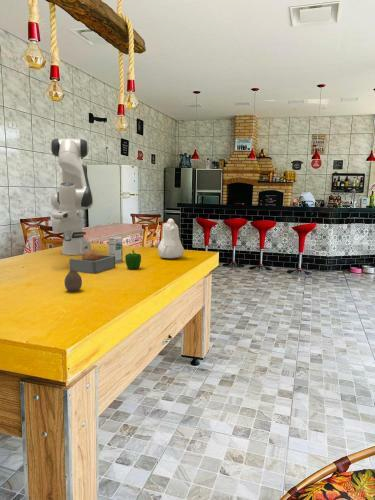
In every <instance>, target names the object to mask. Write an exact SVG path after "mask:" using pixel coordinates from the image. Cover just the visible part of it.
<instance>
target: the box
mask: <svg viewBox="0 0 375 500" xmlns="http://www.w3.org/2000/svg"><path fill="white" fill-rule="evenodd" d="M99 255H100V257H101V259H100V260H96V261H87V260H82V259H77V258H69V271H70V270H71V269H75V270H76V271H77V273H84V274H85V273H87V274H92V275H93V274H98V273H101V272H105V271H108V270H110V269H111V270H112V269H114V268H115V269H116V263H115V256H109V255H105V254H99Z"/></svg>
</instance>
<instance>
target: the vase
mask: <svg viewBox="0 0 375 500" xmlns="http://www.w3.org/2000/svg"><path fill="white" fill-rule="evenodd" d="M82 285H83V280H82V276H81V275H80V274H79V272H77V271H76V270H75V269H71V270H70V269H69V271H68V273H67V274H66V275H65V278H64V287H65V289H66V290H67V291H68V292H70V293H75V292H79V291H80V290H81V288H82Z"/></svg>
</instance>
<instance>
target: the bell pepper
mask: <svg viewBox="0 0 375 500" xmlns="http://www.w3.org/2000/svg"><path fill="white" fill-rule="evenodd" d="M131 251H132V253H131V252H130V253H127V254H125V256H124V257H125V259H124V260H125V264H126V267H127V269H129V270H138V269H140V266H141V263H142V255H141V253H136V252H135V249H132V250H131Z"/></svg>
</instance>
